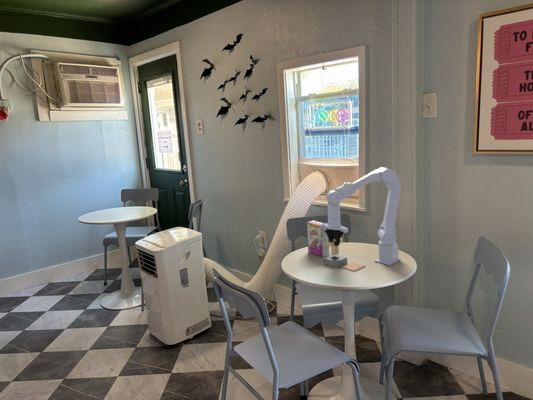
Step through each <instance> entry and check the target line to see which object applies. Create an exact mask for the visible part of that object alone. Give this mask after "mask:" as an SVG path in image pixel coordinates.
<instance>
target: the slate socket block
mask: <svg viewBox="0 0 533 400" xmlns="http://www.w3.org/2000/svg"><path fill="white" fill-rule="evenodd" d="M322 264H323V265H325V266H328V267H330V268H335V269H338V268H341V267H342V266H345V265H347V264H348V256H344V255H340V254H338V255H336V256H335V255H332V254H329V256H326V257H322Z"/></svg>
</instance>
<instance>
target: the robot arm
mask: <svg viewBox="0 0 533 400" xmlns="http://www.w3.org/2000/svg"><path fill="white" fill-rule="evenodd" d="M373 182H374V183H384V185H385V186H386V187H387V188H388V192H387V196H386V198H387V199H386V203H385V207H384V208H385V209H384V214H383V220H382V222H381V224H380V227H379V229H378V230H377V233H376V234H377V237H378V238H379V240H378V258H376V259H374V262H375V263H380V264H383V265H387V266H390V265H391V266H392V264H395V263H397V262H399V261H400V260H401V258H399V249H400V247H399V245H398V242H396V241H397V235H396V230H397V229H396V225H395V224H396V223H395V222H396V219H397V213H398V212H397V211H398V207H399V202H400V197H401V190H402V185H401V183H400V180H399V178H398V174H397V173H396V172H395V171H394V170H392V169H390V168H388V167H386V166H381V167H378V168H377V169H374V170H373V171H371V172H369V173H368V174H365V175H364V176H362V177H361V178H359V179H357V180H356V181H354V182H351V181H350V182H349V181H348V182H347V181H345V182H344V183H343V184H342V185H340V186H338V187H335V188H334V190H333V189H332V190H329V191H328V192H327V194H326V195H325V198H326V201H327V223H326V222H321V223H322V224H321V228H327V230H325V233H326V234H327V236H328V238H329V241H330V240H333V239H335V246H338V247H339V246H340V244H341V243H340V240H341V238H342V237H343V235H344V234H347V233H349V228H348V227H347V226H346V227H345V226H343V225H341V204H340V203H341V202H342V200H346V198H349V197H350V196H353V195H354V194H355V193H356V191H357V190H358V189H361V188H363V187H364V186H366V185H368V184H370V183H373Z"/></svg>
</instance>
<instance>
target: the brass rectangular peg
mask: <svg viewBox="0 0 533 400" xmlns="http://www.w3.org/2000/svg"><path fill="white" fill-rule="evenodd" d="M340 244H343V238H342V237H341V240H340ZM327 246H329V248H330V253H331V254H330V255H335V256H336V255H340V253H339V250H340V249H339V245H338V246H335V239H333V240H330V241H327Z"/></svg>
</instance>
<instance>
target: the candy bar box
mask: <svg viewBox="0 0 533 400" xmlns="http://www.w3.org/2000/svg"><path fill="white" fill-rule="evenodd" d="M322 223H323V222H320V221H318V220H311V221H310V220H309V221H307V222H306V230H307V231H306V233H307V252H308V253H309V254H312V255H315V256H318V257H320V258H324V257H327V256H329V255H330V246H327V241H329V238H328V236H327V234H326V233H325V230H327V228H321V224H322Z"/></svg>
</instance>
